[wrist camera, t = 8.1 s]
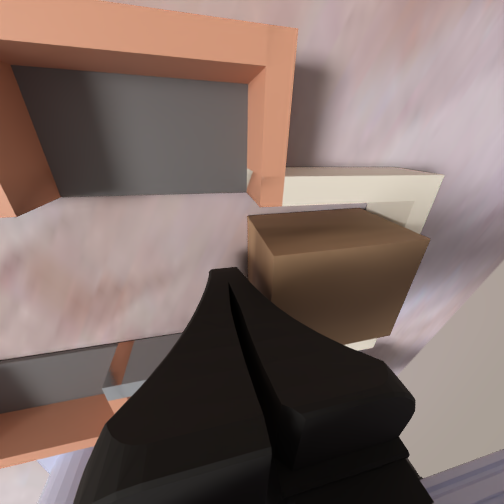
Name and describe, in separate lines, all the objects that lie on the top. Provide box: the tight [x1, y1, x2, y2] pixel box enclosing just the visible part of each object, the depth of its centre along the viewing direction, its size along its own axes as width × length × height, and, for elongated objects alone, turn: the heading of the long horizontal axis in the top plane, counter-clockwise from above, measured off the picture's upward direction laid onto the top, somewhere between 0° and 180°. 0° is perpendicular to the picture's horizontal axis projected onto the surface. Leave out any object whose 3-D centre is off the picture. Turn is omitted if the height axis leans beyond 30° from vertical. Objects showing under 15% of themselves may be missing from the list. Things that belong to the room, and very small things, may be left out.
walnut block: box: [247, 208, 430, 345], centre depth 10 cm, size 5×6×4 cm
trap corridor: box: [0, 0, 444, 469], centre depth 9 cm, size 17×28×2 cm, turn 88°
